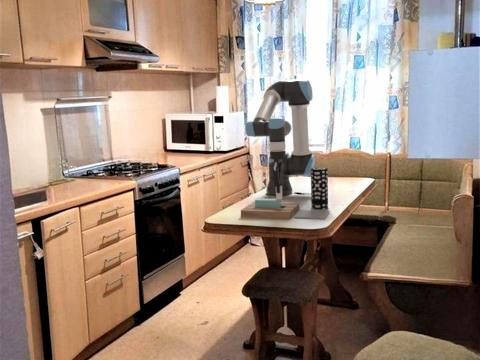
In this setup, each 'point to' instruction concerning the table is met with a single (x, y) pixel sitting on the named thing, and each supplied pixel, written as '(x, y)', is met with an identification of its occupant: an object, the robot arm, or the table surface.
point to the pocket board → (271, 211)
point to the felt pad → (312, 214)
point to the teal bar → (267, 203)
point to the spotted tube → (319, 188)
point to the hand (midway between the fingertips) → (279, 199)
